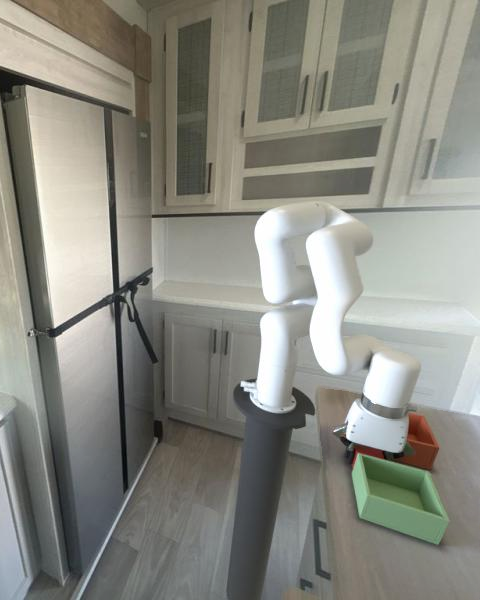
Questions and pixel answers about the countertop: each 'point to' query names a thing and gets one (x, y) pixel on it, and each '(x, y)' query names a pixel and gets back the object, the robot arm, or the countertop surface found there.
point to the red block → (367, 452)
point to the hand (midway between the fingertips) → (364, 463)
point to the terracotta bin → (420, 443)
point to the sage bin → (399, 498)
